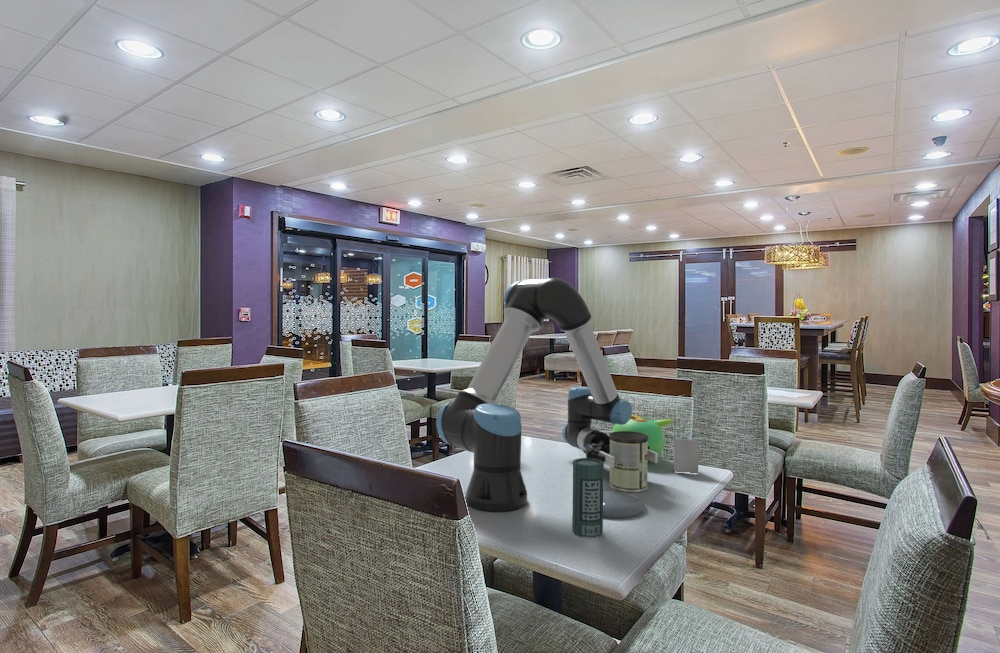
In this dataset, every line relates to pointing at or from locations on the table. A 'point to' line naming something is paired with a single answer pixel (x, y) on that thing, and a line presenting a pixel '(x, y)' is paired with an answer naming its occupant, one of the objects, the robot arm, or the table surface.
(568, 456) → the table surface
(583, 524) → the can
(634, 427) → the toy bird
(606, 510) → the stoneware plate
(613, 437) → the coffee can
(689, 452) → the grey box
